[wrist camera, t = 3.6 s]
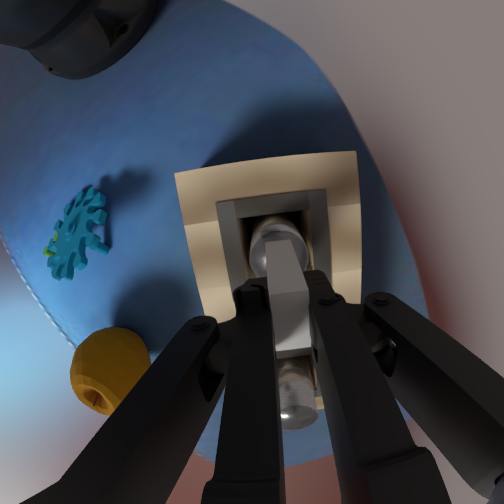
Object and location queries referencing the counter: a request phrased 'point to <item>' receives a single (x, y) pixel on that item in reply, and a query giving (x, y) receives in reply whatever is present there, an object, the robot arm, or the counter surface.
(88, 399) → the apple
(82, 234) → the teal knobby branched piece
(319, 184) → the socket block
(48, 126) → the counter surface
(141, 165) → the counter surface
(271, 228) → the steel peg near
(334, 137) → the counter surface
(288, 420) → the steel peg far
